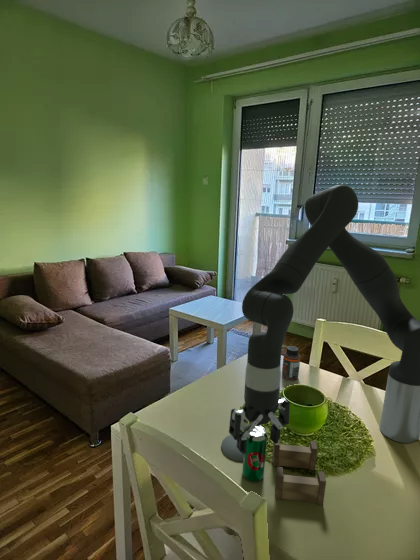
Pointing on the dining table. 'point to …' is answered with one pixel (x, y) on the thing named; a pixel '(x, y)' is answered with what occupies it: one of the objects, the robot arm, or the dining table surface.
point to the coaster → (231, 449)
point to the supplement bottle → (291, 363)
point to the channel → (298, 485)
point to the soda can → (255, 455)
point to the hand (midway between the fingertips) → (258, 446)
